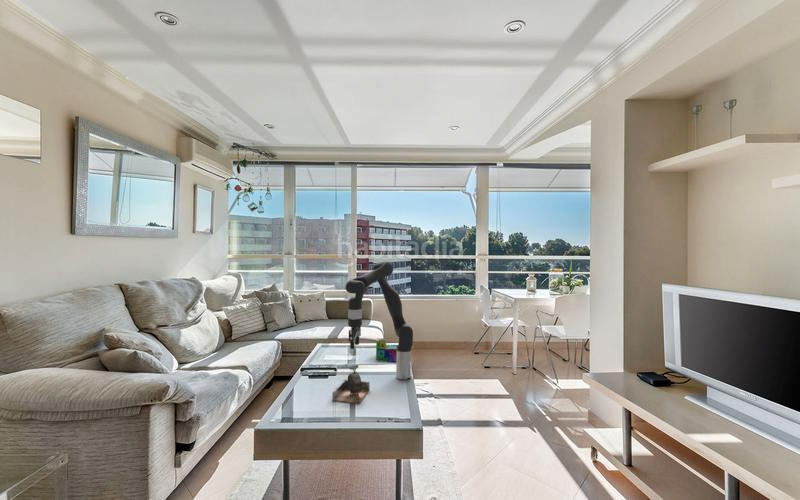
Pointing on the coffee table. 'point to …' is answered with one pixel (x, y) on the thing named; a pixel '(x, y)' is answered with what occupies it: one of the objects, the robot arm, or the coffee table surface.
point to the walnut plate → (351, 396)
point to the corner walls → (345, 385)
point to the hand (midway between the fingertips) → (354, 346)
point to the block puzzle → (385, 351)
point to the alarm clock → (354, 382)
